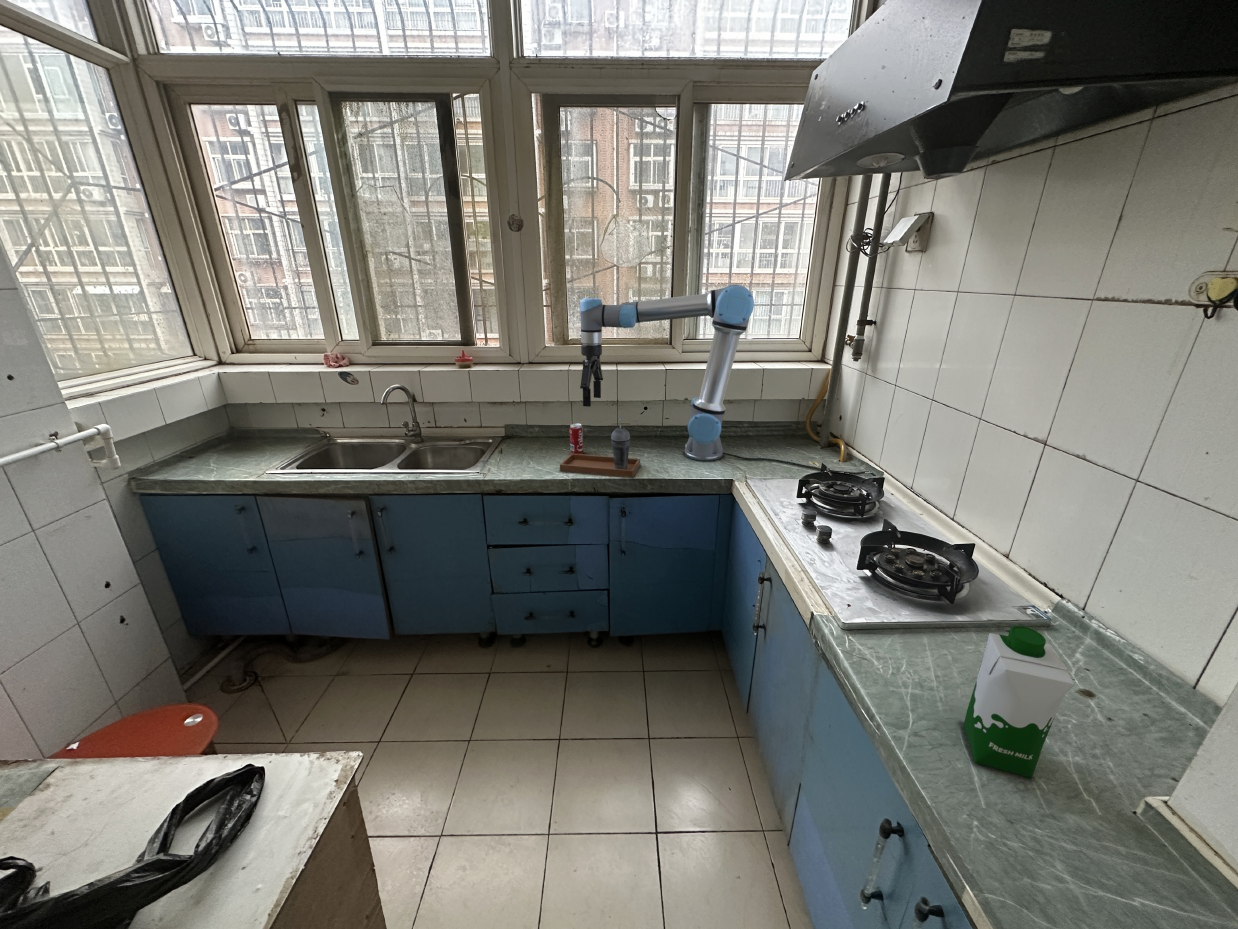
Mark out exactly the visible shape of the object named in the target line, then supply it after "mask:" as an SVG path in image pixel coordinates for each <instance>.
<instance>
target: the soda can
mask: <svg viewBox="0 0 1238 929" xmlns="http://www.w3.org/2000/svg"><path fill="white" fill-rule="evenodd" d="M569 448H570V454H571V453H572V454H584V429H583V426H582V424H581V423H572V424H570V426H569Z"/></svg>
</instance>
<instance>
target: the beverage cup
mask: <svg viewBox="0 0 1238 929" xmlns="http://www.w3.org/2000/svg"><path fill="white" fill-rule="evenodd" d="M618 419H619V427H617V428H615V429H614V430H613V431H612V433H611V435H610V442H611V446H612V453H613V454H612V455H613V456H612V457H614V465H615V469H624V470H626V469H627V465H628V458H629V452H630V444H631V435H630V432H629V431H628V429H626V428H624V427H622V417H621V416H619V418H618Z"/></svg>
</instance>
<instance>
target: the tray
mask: <svg viewBox="0 0 1238 929" xmlns="http://www.w3.org/2000/svg"><path fill="white" fill-rule="evenodd" d="M640 466H641V458H633V457H628V465H627V469H626V470H624V469H615V465H614V456H608V455H596V454H595V455H594V454H584V453H583V454H572V453H571V452H570V454H569V455H568V456H567V457H566V458H565V459H564V460H563V461H562V462H561V463H560V464H559V471H560V472H566V473H576V474H587V475H596V476H597V475H598V476H599V475H600V476H608V477H610V476H611V477H621V478H634V476H635V475H636V473H637V471H638V470H639V468H640Z"/></svg>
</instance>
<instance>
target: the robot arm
mask: <svg viewBox="0 0 1238 929" xmlns="http://www.w3.org/2000/svg"><path fill="white" fill-rule="evenodd" d="M754 308H755V299H754V296H753V294H752V292H751V291H750V290H749V289H748V288H746V287H745V286H742V285H740V284H731V285H728V286H726V287H722V288H716V289H709V291H708V292H707V293H701V294H692V295H691V294H690V295H681V296H675V297H665V298H656V299H647V300H639V301H631V302H629V301H627V302H626V301H625V302H622V303H620V304H603V301H602V299H601V298H596V297H595V298H593V297H592V298H591V297H589V298H588V297H587V298H582V299H581V300H580V308H579V310H580V311H579V314H580V316H579V317H580V318H579V319H580V334H579V337H580V343H581V345H580V353H581V356H584V357H585V359H583V360H582V372H581V379H580V386H579V388H580V390H581V389H582V407H587V408H591V406H592V400H591V398H592V397H591V396H592V394H591V393H592V392H591V388H590V387H591V383H592V382H593V384H592V385H593V398H595V399H601V398H602V381H604V377H603V369H602V364H601V356H602V355H603V345H602V343H603V328H618V329H619V328H621V329H622V328H623V329H629V328H631V329H632V328H634V327H635V326H636V324H639V323H649V322H650V323H651V322H660V321H670V320H678V319H680V320H681V319H688V318H689V319H690V318H699V317H707V316H708V317H710V318H711V319H712V322H711V326H712V328H713V329H714V333H713V337H712V341H711V345H710V350H709V354H708V358H707V362H706V367H705V369H704V370H705V371H704V375H703V378H702V383H701V388H700V392H699V396H698V397H694V398H692V399H691V402H690V415H689V420H688V422H687V426H686V427H687V433H688V435H689V436H688V439H687V442H686V443H685V444H684V446H685V448H684V456H685V457H687V458H688V459H691V460H695V461H701V462H712V461H713V462H714V461H717V460H720V459H722V458H723V457H724V456H729V457H734V458H737V459H740V460H747V461H770V462H776V463H783V464H789V465H793V466H798V467H801V468H802V467H803V468H808V469H813V470H816V471H817V470H818V471H822V470H821V468H822V467H818V466H811V465H808V464H802V463H798V462H792V461H788V460H783V459H782V460H781V459H776V458H767V457H744V456H741V455H737V454H732V453H727V452H724V448H723V444H722V440H721V436H720V435H721V433H722V426H723V420H724V417H725V413H726V410H727V407H726V406H725V405H724V399H725V395H726V392H727V388H728V385H729V381H730V377H731V374H732V369H733V366H734V361H735V357H736V353H737V349H738V345H739V342H740V338H741V335H743V334H744V333H746V332H747V329H748V325H749V321H750V318H751V315H752V313H753V311H754ZM592 378H593V379H594V380H593V381H592ZM827 469H828V470H829V471H831V472H830V473H835V472H844V473H849V474H848V475H864V474H866V473H865V472H869V471H868V470H865V471H857V472H855V471H844V470H835V469H829V468H827ZM844 473H843V474H844ZM868 474H869V475H871V476H873V477H877V475H876V474H875V473H874V472H872V473H868Z"/></svg>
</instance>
